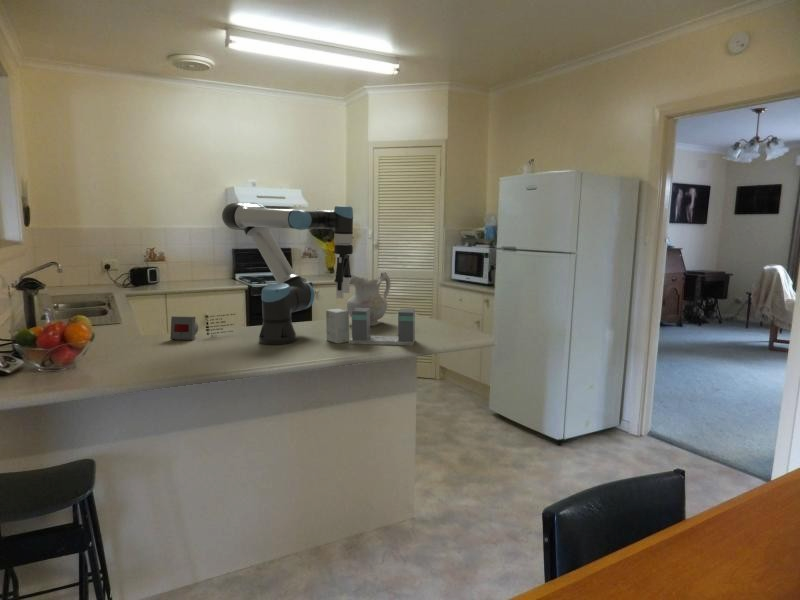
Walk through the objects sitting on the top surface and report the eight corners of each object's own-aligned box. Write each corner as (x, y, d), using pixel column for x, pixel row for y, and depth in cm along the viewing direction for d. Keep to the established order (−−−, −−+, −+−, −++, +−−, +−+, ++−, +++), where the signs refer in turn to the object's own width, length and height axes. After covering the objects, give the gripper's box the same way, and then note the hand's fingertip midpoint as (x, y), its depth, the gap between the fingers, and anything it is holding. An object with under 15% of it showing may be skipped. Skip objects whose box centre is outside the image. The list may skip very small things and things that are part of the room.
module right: (398, 341, 207) (398, 312, 205) (400, 336, 215) (400, 308, 213) (413, 341, 207) (413, 312, 205) (414, 337, 215) (415, 309, 213)
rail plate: (349, 343, 210) (349, 340, 209) (354, 338, 218) (354, 335, 218) (412, 345, 207) (412, 342, 206) (414, 340, 215) (414, 336, 215)
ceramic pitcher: (376, 319, 263) (373, 271, 260) (400, 323, 248) (397, 271, 245) (340, 325, 249) (337, 274, 247) (363, 329, 234) (360, 275, 232)
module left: (352, 340, 209) (351, 311, 208) (356, 335, 218) (355, 307, 216) (366, 340, 209) (366, 311, 207) (370, 335, 217) (370, 308, 215)
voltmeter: (171, 343, 210) (170, 319, 209) (168, 337, 220) (167, 315, 218) (238, 336, 223) (236, 313, 222) (232, 330, 233) (231, 309, 231)
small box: (349, 341, 214) (349, 310, 212) (336, 343, 210) (336, 312, 208) (339, 337, 220) (338, 308, 218) (326, 340, 216) (325, 309, 214)
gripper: (347, 246, 197) (346, 301, 200) (357, 242, 221) (356, 291, 225) (327, 246, 197) (327, 300, 201) (340, 242, 222) (340, 290, 225)
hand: (343, 295), depth 213 cm, fingers open, 13 cm apart
